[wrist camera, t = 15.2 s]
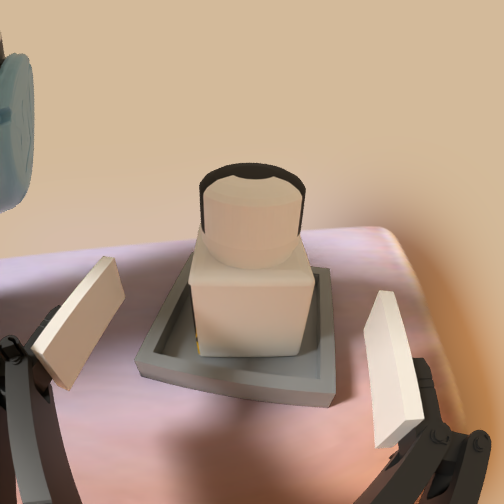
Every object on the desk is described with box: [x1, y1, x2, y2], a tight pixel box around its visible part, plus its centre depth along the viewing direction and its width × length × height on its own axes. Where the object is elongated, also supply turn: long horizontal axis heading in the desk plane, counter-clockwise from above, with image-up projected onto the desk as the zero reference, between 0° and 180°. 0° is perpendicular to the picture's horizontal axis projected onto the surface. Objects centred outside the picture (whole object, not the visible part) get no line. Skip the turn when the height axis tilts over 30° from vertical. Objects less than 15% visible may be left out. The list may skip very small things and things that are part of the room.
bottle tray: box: [134, 252, 336, 408], centre depth 23 cm, size 13×13×2 cm
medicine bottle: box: [188, 163, 315, 357], centre depth 20 cm, size 7×7×12 cm
